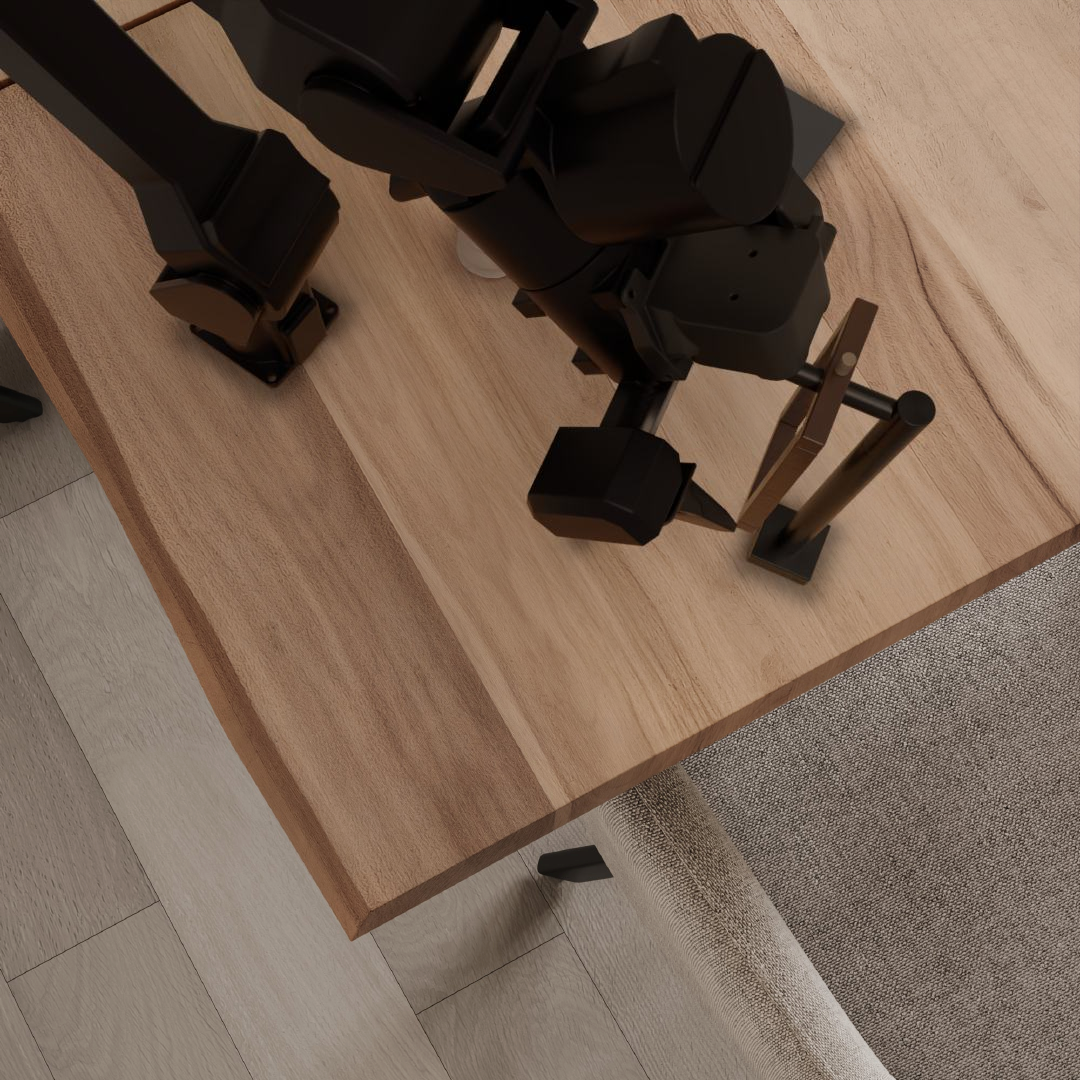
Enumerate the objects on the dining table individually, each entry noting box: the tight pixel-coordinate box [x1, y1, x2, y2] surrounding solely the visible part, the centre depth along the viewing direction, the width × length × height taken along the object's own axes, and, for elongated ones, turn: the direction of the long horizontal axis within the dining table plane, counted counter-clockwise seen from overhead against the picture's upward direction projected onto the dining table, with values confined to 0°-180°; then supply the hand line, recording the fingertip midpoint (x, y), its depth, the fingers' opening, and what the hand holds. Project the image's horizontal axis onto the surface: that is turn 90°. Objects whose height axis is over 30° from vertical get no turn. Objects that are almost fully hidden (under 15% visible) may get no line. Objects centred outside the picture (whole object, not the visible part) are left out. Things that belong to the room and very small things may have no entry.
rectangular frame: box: [735, 297, 880, 535], centre depth 49 cm, size 1×7×13 cm, turn 156°
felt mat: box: [784, 85, 846, 182], centre depth 71 cm, size 7×7×1 cm
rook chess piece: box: [455, 227, 508, 279], centre depth 64 cm, size 4×4×8 cm
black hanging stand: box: [746, 361, 937, 586], centre depth 53 cm, size 8×4×20 cm, turn 66°
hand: (762, 445), depth 53 cm, fingers open, 9 cm apart
